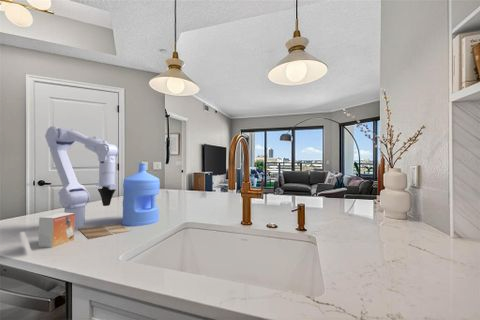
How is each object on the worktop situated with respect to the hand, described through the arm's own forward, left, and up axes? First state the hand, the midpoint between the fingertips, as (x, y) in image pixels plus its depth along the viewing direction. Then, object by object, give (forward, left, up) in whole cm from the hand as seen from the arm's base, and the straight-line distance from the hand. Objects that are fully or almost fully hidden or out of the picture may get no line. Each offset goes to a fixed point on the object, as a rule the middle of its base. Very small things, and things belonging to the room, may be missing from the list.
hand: (106, 205), depth 95 cm
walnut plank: (+3, -4, -10) cm, 12 cm away
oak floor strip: (+3, +3, -10) cm, 11 cm away
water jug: (-1, +15, -11) cm, 18 cm away
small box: (+8, -17, -11) cm, 22 cm away
